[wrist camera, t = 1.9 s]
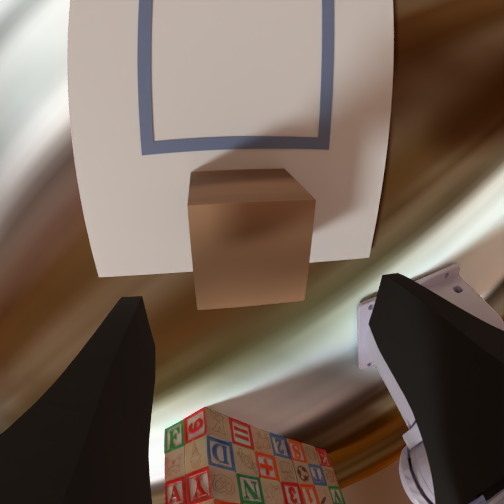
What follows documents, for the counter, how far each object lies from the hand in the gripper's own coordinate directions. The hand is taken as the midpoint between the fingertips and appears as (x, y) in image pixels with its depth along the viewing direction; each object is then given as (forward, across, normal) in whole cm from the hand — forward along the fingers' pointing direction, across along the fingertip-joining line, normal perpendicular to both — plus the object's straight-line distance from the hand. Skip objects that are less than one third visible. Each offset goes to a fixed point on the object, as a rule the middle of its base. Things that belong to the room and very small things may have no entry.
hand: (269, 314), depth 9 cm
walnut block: (+8, 0, 0) cm, 8 cm away
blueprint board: (+8, 0, -8) cm, 11 cm away
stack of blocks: (+9, -2, +28) cm, 29 cm away
